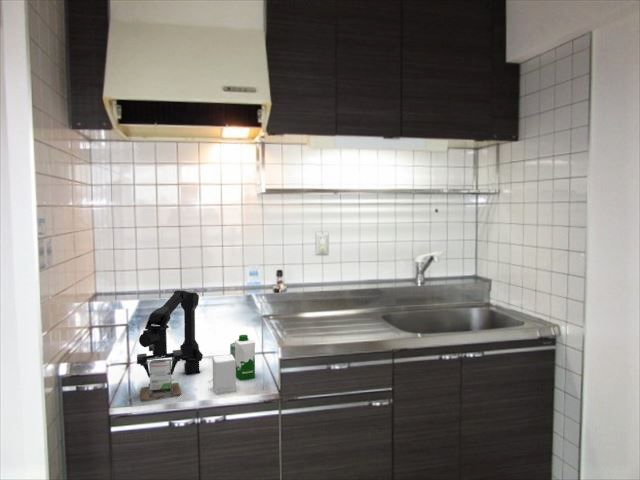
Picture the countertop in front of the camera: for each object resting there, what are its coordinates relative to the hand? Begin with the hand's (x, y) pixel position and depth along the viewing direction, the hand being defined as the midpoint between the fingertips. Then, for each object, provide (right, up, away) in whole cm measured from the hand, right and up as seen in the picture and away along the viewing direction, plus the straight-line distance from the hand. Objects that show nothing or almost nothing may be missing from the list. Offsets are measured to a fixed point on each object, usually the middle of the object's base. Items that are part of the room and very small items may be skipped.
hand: (160, 376), depth 204 cm
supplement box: (+27, -8, +2) cm, 28 cm away
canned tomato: (+27, -5, +36) cm, 46 cm away
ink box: (0, -5, +1) cm, 5 cm away
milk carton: (+34, -7, +18) cm, 39 cm away
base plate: (0, -7, 0) cm, 7 cm away
